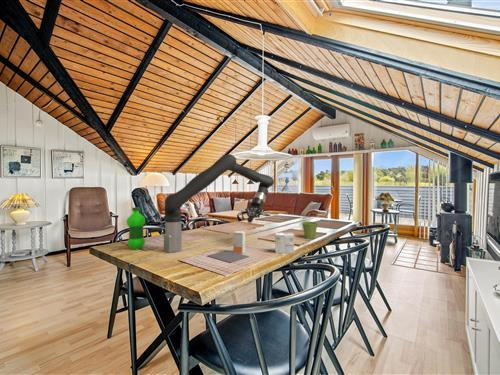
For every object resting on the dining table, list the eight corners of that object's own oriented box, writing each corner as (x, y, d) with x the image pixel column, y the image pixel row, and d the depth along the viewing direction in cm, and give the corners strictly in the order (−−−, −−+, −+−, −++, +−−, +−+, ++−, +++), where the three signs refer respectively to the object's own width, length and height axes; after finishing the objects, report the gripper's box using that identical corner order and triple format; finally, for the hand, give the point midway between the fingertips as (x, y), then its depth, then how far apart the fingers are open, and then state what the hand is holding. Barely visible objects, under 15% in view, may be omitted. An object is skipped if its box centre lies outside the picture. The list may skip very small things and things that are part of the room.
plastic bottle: (147, 248, 154) (146, 207, 154) (127, 251, 148) (127, 208, 148) (144, 245, 162) (143, 206, 162) (125, 247, 157) (125, 207, 156)
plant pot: (299, 236, 189) (299, 221, 189) (314, 236, 190) (314, 221, 190) (304, 240, 177) (304, 224, 177) (320, 239, 179) (320, 223, 178)
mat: (230, 263, 125) (230, 262, 125) (207, 256, 137) (207, 255, 137) (249, 256, 136) (249, 256, 136) (225, 251, 148) (225, 250, 148)
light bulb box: (293, 250, 149) (293, 232, 149) (294, 253, 142) (294, 234, 142) (275, 250, 150) (275, 232, 150) (275, 253, 143) (275, 234, 143)
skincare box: (232, 253, 144) (232, 232, 144) (236, 251, 148) (236, 230, 148) (242, 254, 142) (242, 232, 142) (245, 252, 146) (245, 231, 146)
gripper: (247, 196, 165) (237, 217, 155) (265, 197, 159) (256, 218, 148) (252, 204, 170) (242, 224, 160) (269, 204, 163) (260, 226, 153)
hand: (249, 221), depth 154 cm, fingers closed
